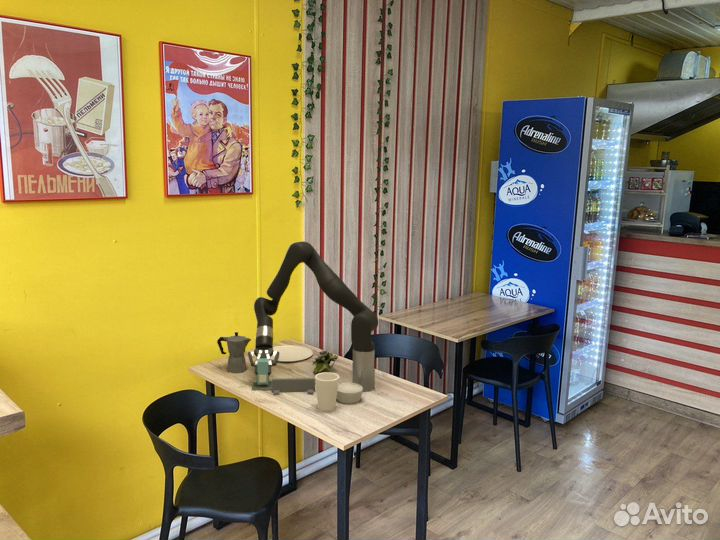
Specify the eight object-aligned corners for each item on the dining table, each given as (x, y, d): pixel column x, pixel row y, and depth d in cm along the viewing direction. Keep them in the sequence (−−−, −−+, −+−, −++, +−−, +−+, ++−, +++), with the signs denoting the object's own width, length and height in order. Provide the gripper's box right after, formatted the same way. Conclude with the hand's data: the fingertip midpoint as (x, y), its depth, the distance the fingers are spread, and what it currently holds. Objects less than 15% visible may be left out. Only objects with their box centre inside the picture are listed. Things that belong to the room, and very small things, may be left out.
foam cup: (309, 407, 219) (310, 376, 217) (327, 401, 226) (328, 370, 223) (325, 415, 213) (326, 383, 210) (343, 408, 219) (344, 377, 217)
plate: (294, 345, 298) (295, 342, 298) (322, 357, 279) (322, 354, 279) (253, 354, 282) (253, 350, 282) (279, 367, 263) (279, 364, 263)
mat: (274, 382, 244) (274, 381, 244) (273, 390, 236) (273, 389, 235) (253, 382, 243) (253, 381, 243) (251, 390, 235) (251, 389, 234)
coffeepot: (252, 366, 263) (252, 329, 260) (249, 373, 254) (249, 335, 251) (220, 366, 263) (219, 329, 260) (215, 373, 254) (214, 334, 250)
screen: (315, 390, 237) (315, 377, 236) (315, 394, 232) (315, 381, 231) (272, 391, 235) (272, 378, 234) (271, 395, 230) (271, 382, 229)
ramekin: (367, 398, 230) (368, 386, 229) (352, 407, 220) (352, 395, 219) (345, 392, 236) (345, 380, 235) (329, 400, 227) (329, 388, 226)
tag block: (268, 380, 242) (268, 358, 240) (268, 384, 237) (268, 362, 235) (258, 380, 241) (258, 358, 239) (257, 384, 236) (257, 362, 235)
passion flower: (322, 379, 264) (333, 356, 268) (335, 382, 255) (346, 358, 259) (304, 369, 258) (315, 346, 262) (317, 372, 250) (328, 347, 253)
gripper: (247, 334, 242) (245, 371, 233) (280, 334, 244) (279, 370, 234) (248, 342, 248) (246, 378, 239) (281, 342, 250) (280, 378, 240)
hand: (262, 374), depth 237 cm, fingers closed on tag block, 4 cm apart
